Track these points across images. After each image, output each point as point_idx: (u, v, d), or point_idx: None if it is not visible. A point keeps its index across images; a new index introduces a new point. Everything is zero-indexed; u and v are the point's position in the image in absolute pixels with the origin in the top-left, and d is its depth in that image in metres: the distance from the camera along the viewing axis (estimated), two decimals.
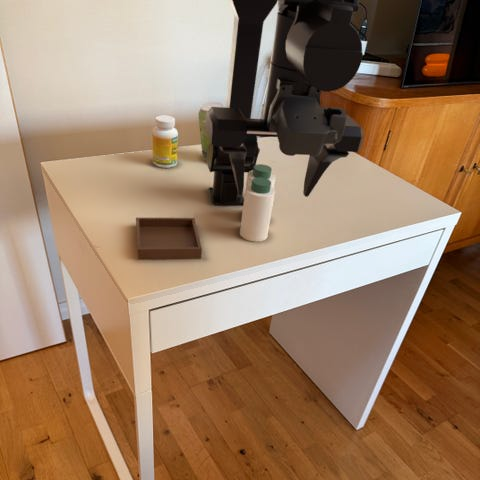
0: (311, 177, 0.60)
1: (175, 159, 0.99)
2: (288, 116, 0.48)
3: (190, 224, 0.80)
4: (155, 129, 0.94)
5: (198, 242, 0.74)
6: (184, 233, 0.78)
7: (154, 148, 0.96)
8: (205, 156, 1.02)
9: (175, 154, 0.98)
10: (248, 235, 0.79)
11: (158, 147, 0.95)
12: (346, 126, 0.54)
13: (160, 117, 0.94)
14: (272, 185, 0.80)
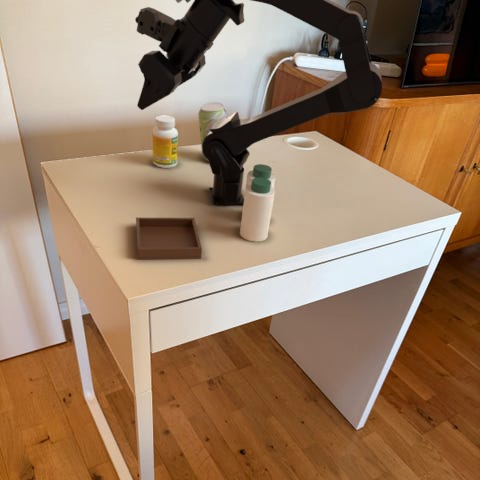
0: None
1: (175, 159, 0.99)
2: (162, 13, 0.75)
3: (190, 224, 0.80)
4: (155, 129, 0.94)
5: (198, 242, 0.74)
6: (184, 233, 0.78)
7: (154, 148, 0.96)
8: (205, 156, 1.02)
9: (175, 154, 0.98)
10: (248, 235, 0.79)
11: (158, 147, 0.95)
12: (156, 52, 0.71)
13: (160, 117, 0.94)
14: (272, 185, 0.80)
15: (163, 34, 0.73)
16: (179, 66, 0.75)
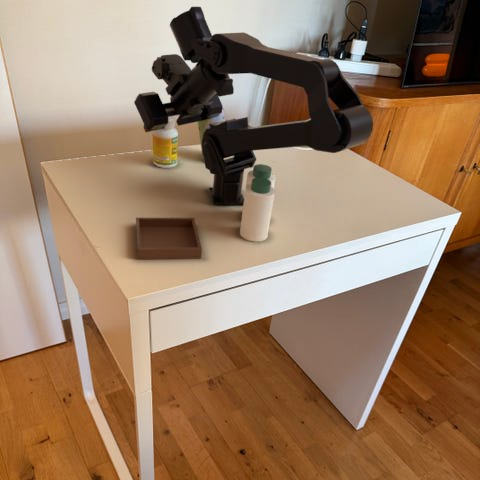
0: None
1: (175, 159, 0.99)
2: (184, 62, 0.87)
3: (190, 224, 0.80)
4: None
5: (198, 242, 0.74)
6: (184, 233, 0.78)
7: (154, 148, 0.96)
8: None
9: (175, 154, 0.98)
10: (248, 235, 0.79)
11: (158, 147, 0.95)
12: (151, 94, 0.83)
13: None
14: (272, 185, 0.80)
15: (169, 81, 0.85)
16: (176, 110, 0.87)
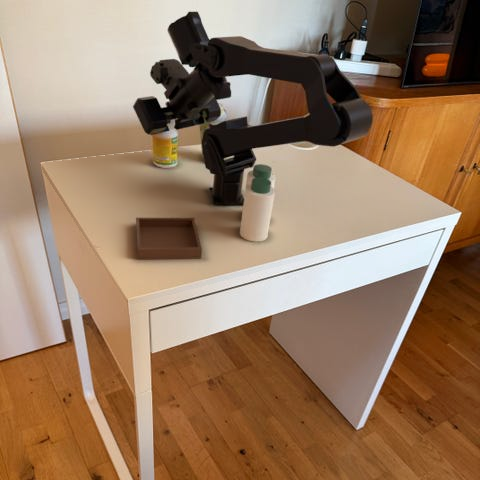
0: None
1: (175, 159, 0.98)
2: (182, 67, 0.87)
3: (190, 224, 0.80)
4: None
5: (198, 242, 0.74)
6: (184, 233, 0.78)
7: (154, 148, 0.96)
8: None
9: (175, 154, 0.98)
10: (248, 235, 0.79)
11: (158, 147, 0.95)
12: (150, 99, 0.84)
13: None
14: (272, 185, 0.80)
15: (168, 85, 0.85)
16: (174, 114, 0.88)
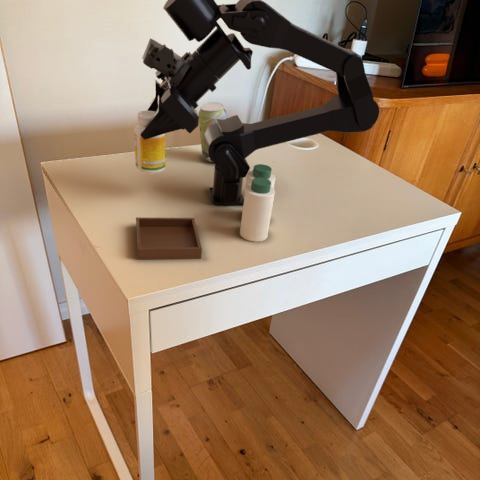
0: None
1: None
2: None
3: (190, 224, 0.80)
4: None
5: (198, 242, 0.74)
6: (184, 233, 0.78)
7: (149, 154, 0.80)
8: (205, 156, 1.02)
9: None
10: (248, 235, 0.79)
11: (156, 149, 0.80)
12: (177, 91, 0.70)
13: (143, 115, 0.77)
14: (272, 185, 0.80)
15: (175, 71, 0.72)
16: (187, 102, 0.75)
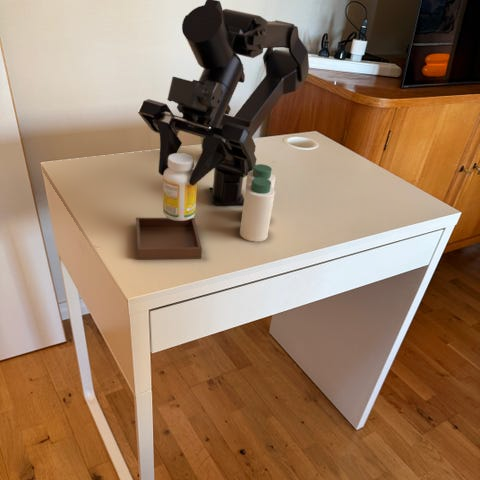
0: None
1: None
2: None
3: (190, 224, 0.80)
4: (189, 176, 0.70)
5: (198, 242, 0.74)
6: (184, 233, 0.78)
7: (192, 198, 0.73)
8: None
9: None
10: (248, 235, 0.79)
11: (196, 191, 0.73)
12: (236, 124, 0.67)
13: (180, 160, 0.69)
14: (272, 185, 0.80)
15: None
16: None
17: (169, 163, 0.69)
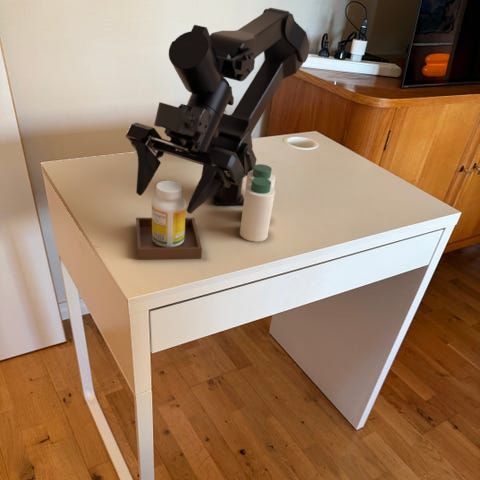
0: None
1: None
2: None
3: (190, 224, 0.80)
4: (177, 204, 0.70)
5: (198, 242, 0.74)
6: None
7: (181, 226, 0.73)
8: None
9: None
10: (248, 235, 0.79)
11: (184, 218, 0.73)
12: (224, 149, 0.67)
13: (168, 189, 0.69)
14: (272, 185, 0.80)
15: None
16: None
17: (157, 191, 0.69)
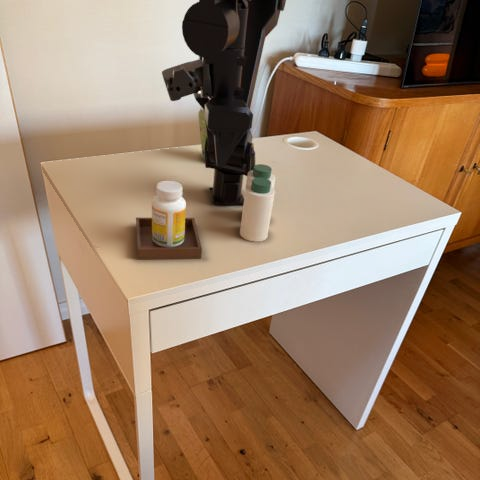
0: None
1: None
2: (177, 66, 0.66)
3: (190, 224, 0.80)
4: (177, 204, 0.70)
5: (198, 242, 0.74)
6: None
7: (181, 226, 0.73)
8: None
9: None
10: (248, 235, 0.79)
11: (184, 218, 0.73)
12: (213, 101, 0.61)
13: (168, 189, 0.69)
14: (272, 185, 0.80)
15: (200, 81, 0.63)
16: (231, 97, 0.66)
17: (157, 191, 0.69)
